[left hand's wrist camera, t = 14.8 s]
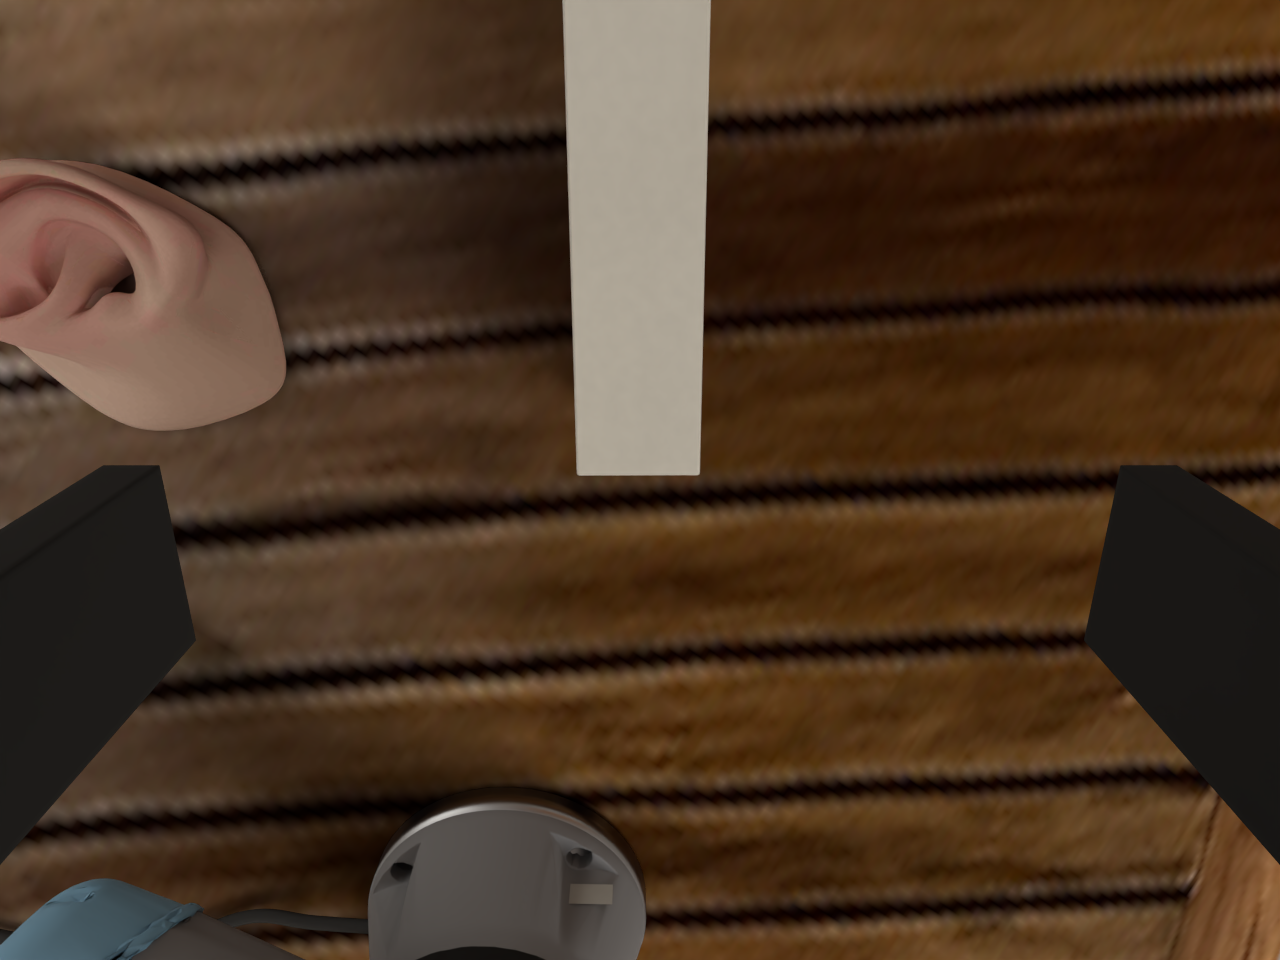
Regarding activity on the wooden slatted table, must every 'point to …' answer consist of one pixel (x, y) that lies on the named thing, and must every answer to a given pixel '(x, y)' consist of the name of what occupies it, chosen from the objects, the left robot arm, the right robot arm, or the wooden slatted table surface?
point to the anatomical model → (133, 296)
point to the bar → (637, 230)
